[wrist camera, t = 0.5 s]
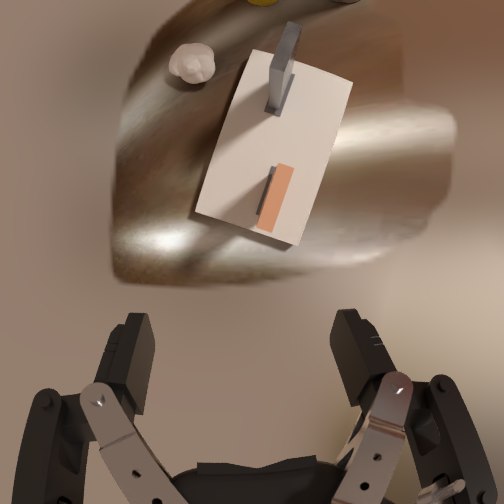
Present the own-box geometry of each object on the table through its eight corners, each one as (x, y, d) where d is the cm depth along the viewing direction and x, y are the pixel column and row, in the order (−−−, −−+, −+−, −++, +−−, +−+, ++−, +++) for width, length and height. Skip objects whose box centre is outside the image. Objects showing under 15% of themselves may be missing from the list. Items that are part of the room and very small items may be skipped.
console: (253, 55, 30) (252, 48, 28) (348, 87, 31) (353, 82, 29) (198, 210, 36) (194, 211, 33) (296, 242, 36) (297, 246, 34)
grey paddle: (281, 71, 28) (287, 21, 17) (291, 74, 28) (302, 25, 17) (268, 107, 30) (269, 67, 18) (278, 110, 30) (284, 71, 18)
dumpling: (226, 59, 31) (222, 46, 27) (210, 91, 32) (204, 81, 28) (180, 48, 30) (172, 36, 27) (164, 79, 32) (154, 69, 28)
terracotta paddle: (274, 170, 31) (278, 162, 20) (284, 174, 31) (294, 168, 20) (260, 211, 32) (256, 227, 21) (269, 215, 32) (271, 232, 21)
